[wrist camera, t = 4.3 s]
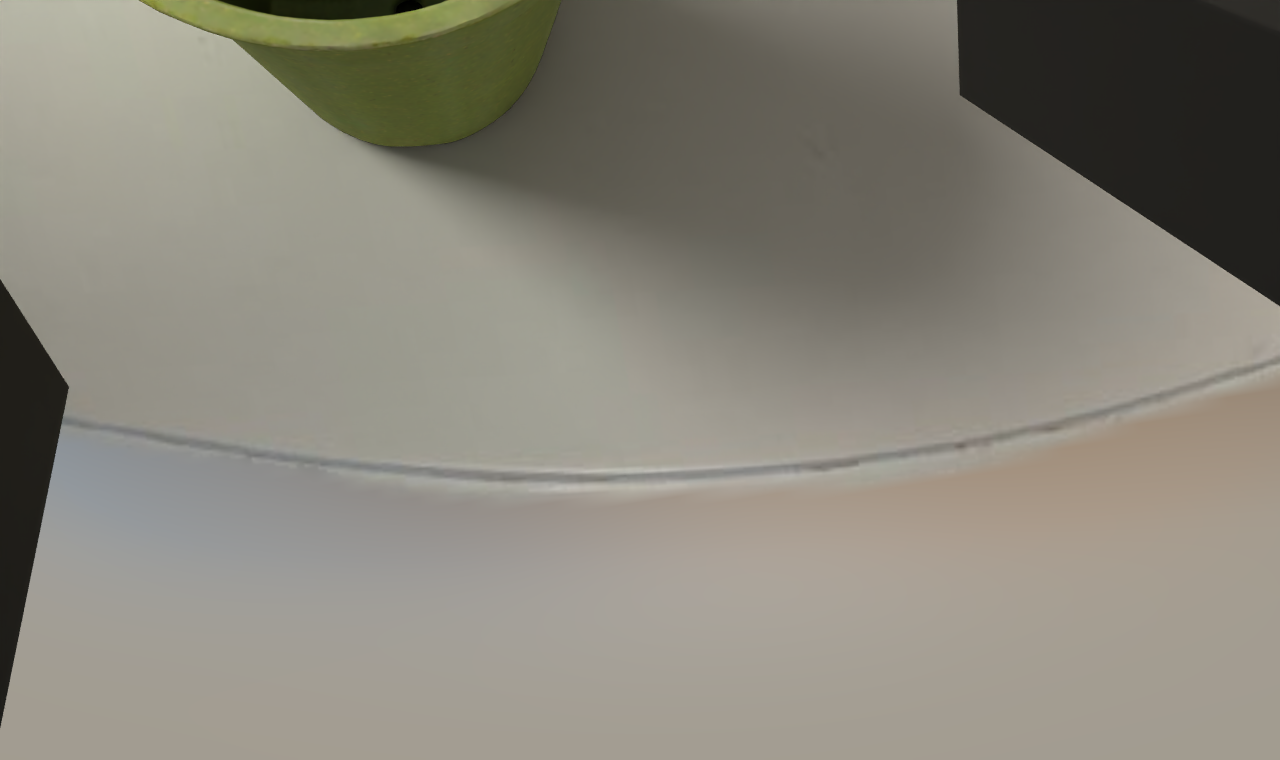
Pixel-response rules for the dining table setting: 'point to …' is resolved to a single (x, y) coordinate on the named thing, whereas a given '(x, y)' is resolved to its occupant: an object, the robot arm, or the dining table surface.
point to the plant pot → (388, 58)
